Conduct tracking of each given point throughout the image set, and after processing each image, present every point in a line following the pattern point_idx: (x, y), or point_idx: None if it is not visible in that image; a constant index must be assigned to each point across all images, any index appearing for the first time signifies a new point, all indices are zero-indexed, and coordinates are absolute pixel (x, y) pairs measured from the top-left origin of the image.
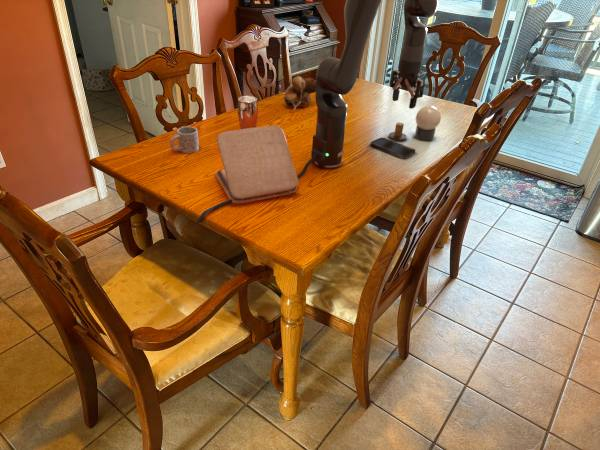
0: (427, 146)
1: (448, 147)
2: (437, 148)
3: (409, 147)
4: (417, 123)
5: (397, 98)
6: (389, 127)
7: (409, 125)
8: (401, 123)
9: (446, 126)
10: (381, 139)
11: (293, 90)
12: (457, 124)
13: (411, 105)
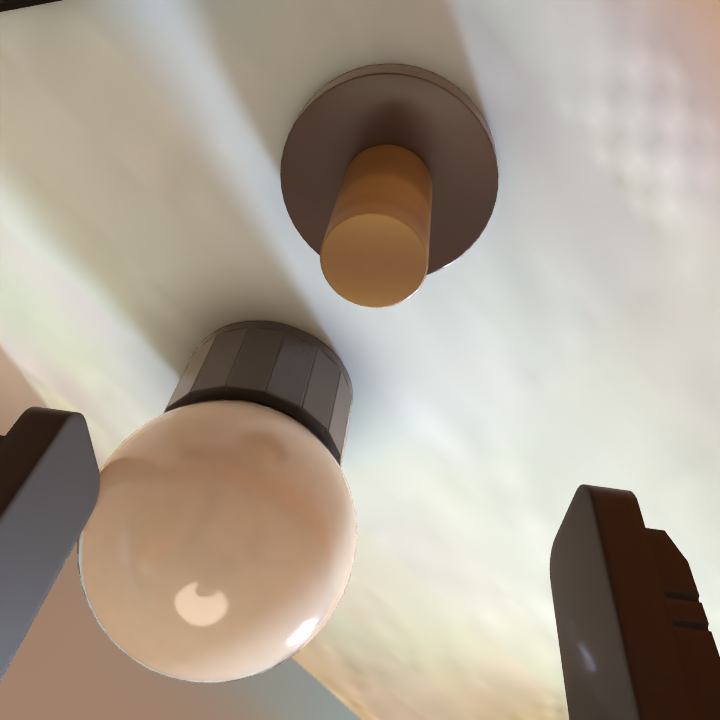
0: (93, 262)
1: (28, 377)
2: (31, 298)
3: (25, 4)
4: (260, 417)
5: (561, 580)
6: (632, 321)
7: (519, 475)
8: (372, 288)
9: (338, 605)
10: None
11: None
12: (325, 652)
13: (5, 467)
